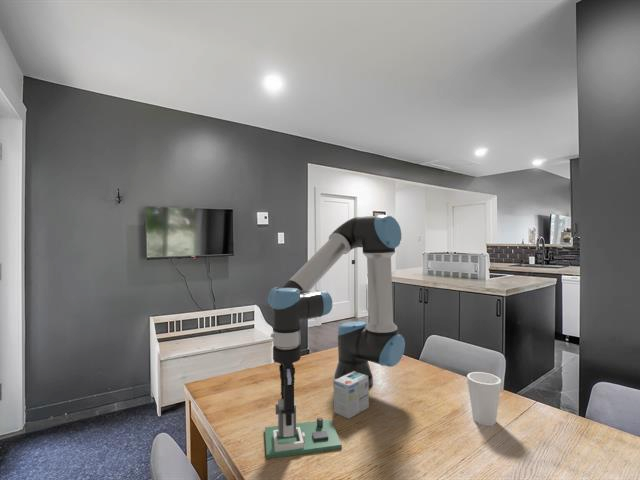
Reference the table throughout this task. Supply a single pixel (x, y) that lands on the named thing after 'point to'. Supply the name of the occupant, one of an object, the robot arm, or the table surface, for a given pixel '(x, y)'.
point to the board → (302, 439)
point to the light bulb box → (351, 394)
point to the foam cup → (484, 396)
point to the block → (278, 409)
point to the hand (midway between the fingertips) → (287, 430)
